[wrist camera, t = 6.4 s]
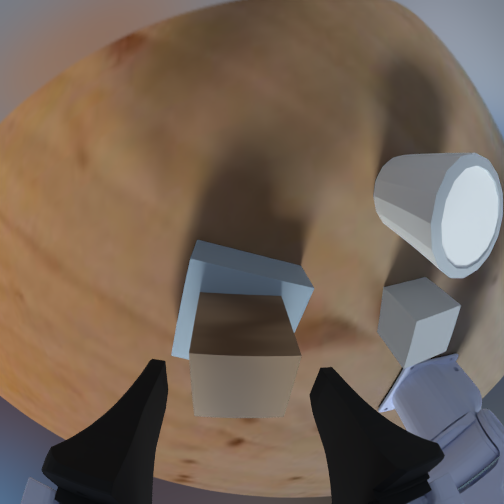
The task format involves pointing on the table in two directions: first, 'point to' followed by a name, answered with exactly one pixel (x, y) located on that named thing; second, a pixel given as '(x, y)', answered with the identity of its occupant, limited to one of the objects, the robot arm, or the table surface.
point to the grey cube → (416, 320)
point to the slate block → (237, 284)
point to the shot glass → (442, 207)
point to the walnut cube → (242, 356)
